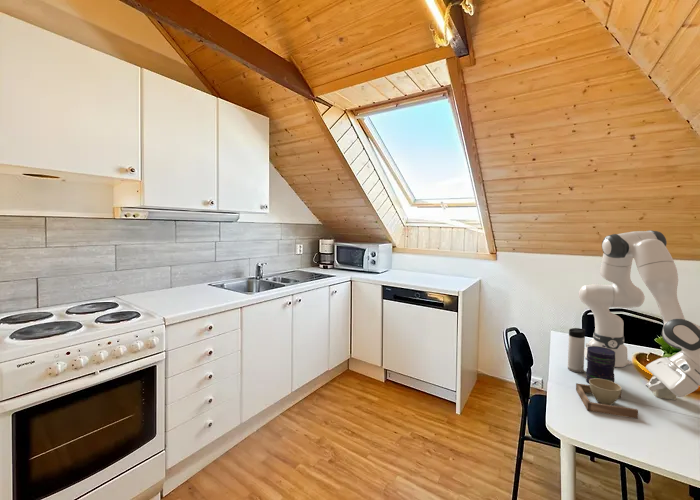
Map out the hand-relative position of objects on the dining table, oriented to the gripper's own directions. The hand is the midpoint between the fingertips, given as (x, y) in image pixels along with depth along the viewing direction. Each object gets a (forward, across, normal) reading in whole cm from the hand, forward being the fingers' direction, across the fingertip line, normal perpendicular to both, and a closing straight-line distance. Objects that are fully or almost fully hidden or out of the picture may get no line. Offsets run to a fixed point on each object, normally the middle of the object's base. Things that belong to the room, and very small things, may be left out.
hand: (648, 388), depth 121 cm
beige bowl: (+15, -1, -3) cm, 16 cm away
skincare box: (-1, -14, +13) cm, 19 cm away
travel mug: (+18, -30, -5) cm, 35 cm away
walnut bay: (+15, 0, -3) cm, 15 cm away
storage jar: (+13, -18, -1) cm, 22 cm away
